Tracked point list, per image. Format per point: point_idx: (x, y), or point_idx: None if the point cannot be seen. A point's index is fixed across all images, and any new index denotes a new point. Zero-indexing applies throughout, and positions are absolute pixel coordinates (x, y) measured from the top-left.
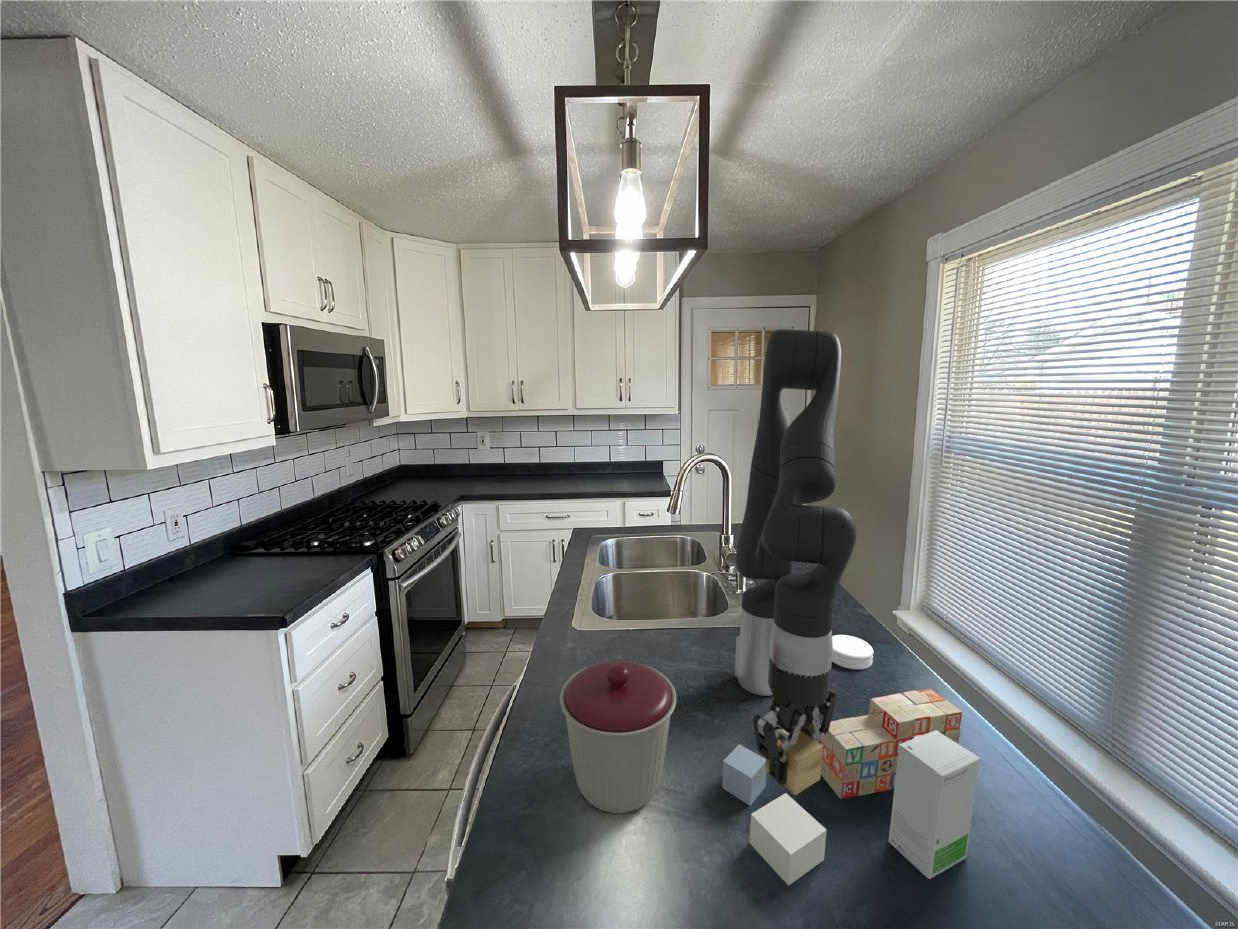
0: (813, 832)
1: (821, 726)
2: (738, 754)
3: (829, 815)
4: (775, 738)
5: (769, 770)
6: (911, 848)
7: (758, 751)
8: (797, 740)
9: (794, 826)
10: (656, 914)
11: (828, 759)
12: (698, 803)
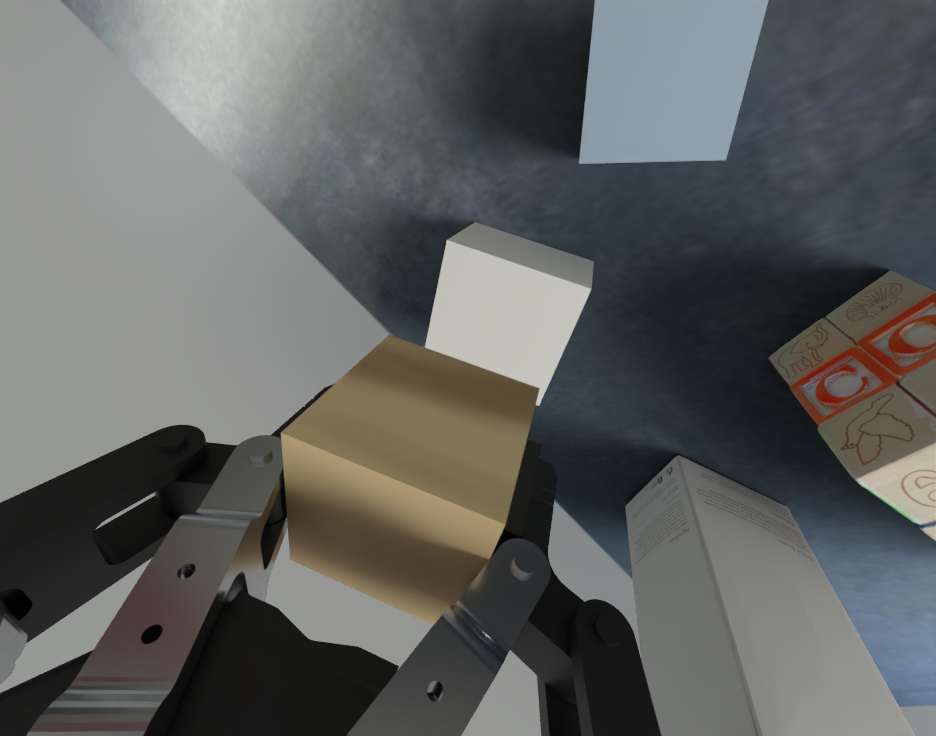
0: None
1: (545, 684)
2: (686, 20)
3: (686, 346)
4: (40, 629)
5: (316, 396)
6: (647, 510)
7: (164, 431)
8: (398, 554)
9: (493, 346)
10: (226, 158)
11: (888, 344)
12: (482, 8)
